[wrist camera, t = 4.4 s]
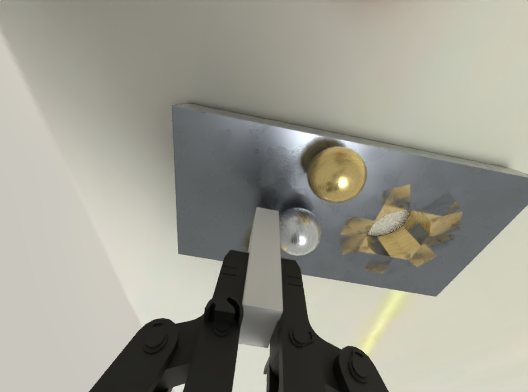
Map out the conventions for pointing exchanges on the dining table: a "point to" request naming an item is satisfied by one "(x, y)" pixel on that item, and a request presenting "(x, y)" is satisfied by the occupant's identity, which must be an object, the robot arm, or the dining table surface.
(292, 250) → the steel ball
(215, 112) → the plate
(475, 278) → the dining table surface
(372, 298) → the dining table surface
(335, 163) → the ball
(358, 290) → the dining table surface
